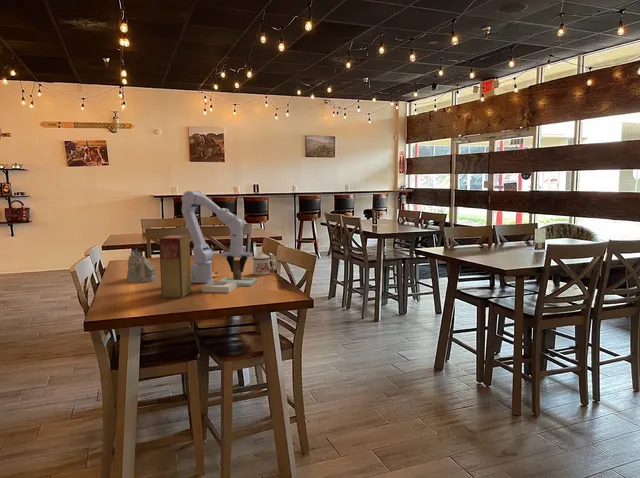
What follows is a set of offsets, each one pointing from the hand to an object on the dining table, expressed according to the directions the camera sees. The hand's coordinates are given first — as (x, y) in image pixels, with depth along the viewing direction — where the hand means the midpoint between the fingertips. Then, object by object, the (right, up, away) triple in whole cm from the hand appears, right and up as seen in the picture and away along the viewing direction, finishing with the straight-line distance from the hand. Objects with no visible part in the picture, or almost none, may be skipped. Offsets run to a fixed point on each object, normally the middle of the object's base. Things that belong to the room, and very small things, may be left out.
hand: (237, 271), depth 224 cm
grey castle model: (-48, -5, +10) cm, 49 cm away
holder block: (-6, -7, -13) cm, 16 cm away
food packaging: (-22, -8, -23) cm, 33 cm away
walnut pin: (0, -3, 0) cm, 3 cm away
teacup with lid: (+10, -3, +26) cm, 28 cm away
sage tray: (0, -5, +1) cm, 6 cm away
